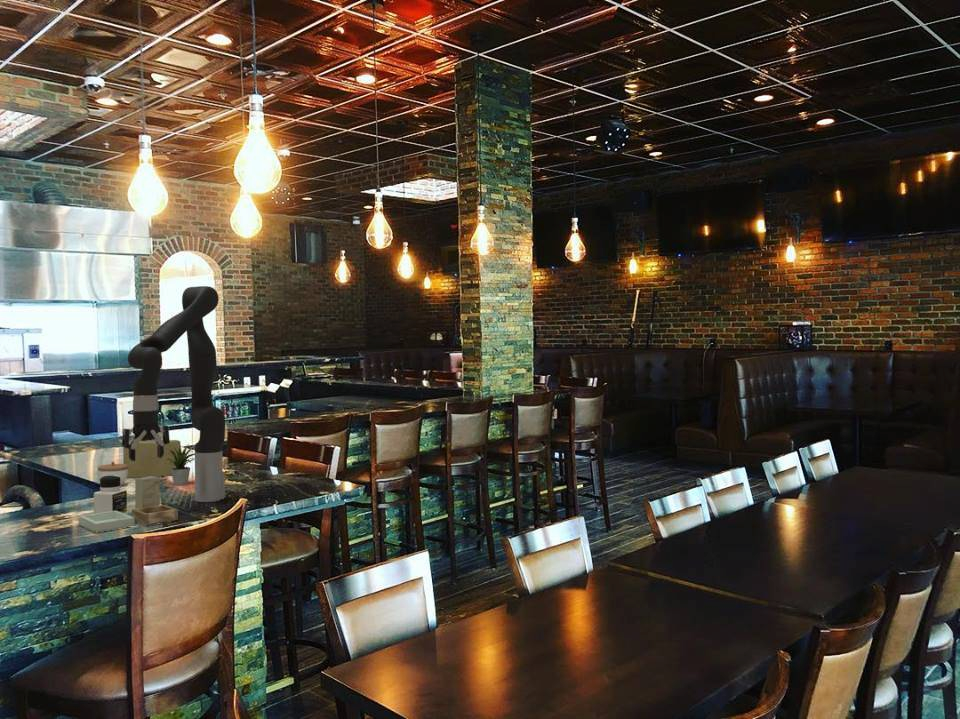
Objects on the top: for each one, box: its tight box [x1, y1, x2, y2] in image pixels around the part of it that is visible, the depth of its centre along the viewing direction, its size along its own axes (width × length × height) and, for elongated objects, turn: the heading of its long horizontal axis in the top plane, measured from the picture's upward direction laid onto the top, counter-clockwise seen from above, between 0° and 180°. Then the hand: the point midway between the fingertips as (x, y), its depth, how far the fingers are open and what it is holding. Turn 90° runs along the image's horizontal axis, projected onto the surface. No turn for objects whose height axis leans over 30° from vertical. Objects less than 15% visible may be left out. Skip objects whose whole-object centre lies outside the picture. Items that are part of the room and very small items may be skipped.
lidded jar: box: [97, 461, 128, 487], centre depth 297 cm, size 11×11×9 cm
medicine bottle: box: [93, 475, 128, 514], centre depth 251 cm, size 7×7×12 cm
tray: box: [78, 511, 135, 534], centre depth 233 cm, size 11×14×3 cm
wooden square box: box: [131, 504, 179, 527], centre depth 239 cm, size 10×10×4 cm
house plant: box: [166, 443, 195, 486], centre depth 300 cm, size 14×14×16 cm
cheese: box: [122, 439, 183, 479], centre depth 318 cm, size 22×10×15 cm, turn 96°
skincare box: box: [134, 476, 161, 509], centre depth 248 cm, size 6×4×12 cm
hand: (146, 459), depth 247 cm, fingers open, 8 cm apart
